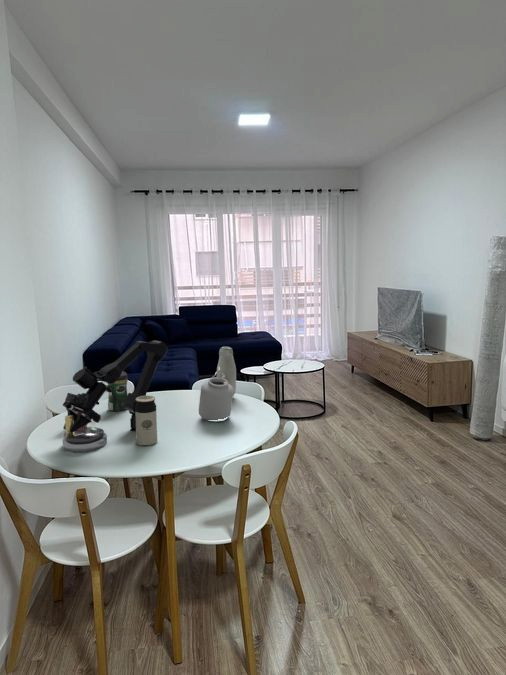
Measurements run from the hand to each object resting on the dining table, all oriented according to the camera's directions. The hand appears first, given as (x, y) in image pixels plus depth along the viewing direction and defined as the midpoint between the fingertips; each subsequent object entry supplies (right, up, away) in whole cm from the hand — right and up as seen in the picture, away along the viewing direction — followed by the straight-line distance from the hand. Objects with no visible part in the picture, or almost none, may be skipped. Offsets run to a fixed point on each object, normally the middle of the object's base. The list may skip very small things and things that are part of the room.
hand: (67, 430), depth 164 cm
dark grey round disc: (+4, -7, +6) cm, 10 cm away
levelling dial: (+4, -4, +6) cm, 8 cm away
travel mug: (+28, -7, +9) cm, 30 cm away
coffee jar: (+3, -1, +51) cm, 52 cm away
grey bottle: (+55, +2, +72) cm, 91 cm away
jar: (+53, -3, +36) cm, 64 cm away
